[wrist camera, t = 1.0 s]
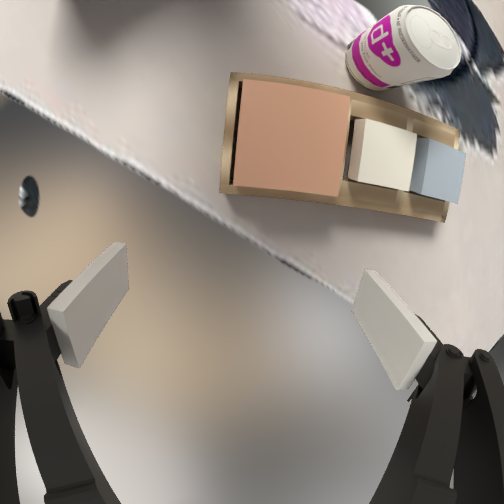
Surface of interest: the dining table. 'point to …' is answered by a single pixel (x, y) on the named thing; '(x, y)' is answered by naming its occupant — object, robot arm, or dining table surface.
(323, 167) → the key terracotta
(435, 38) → the supplement can
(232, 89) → the wooden compartment tray
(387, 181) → the key ivory
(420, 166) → the key slate
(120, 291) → the robot arm
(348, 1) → the dining table surface
